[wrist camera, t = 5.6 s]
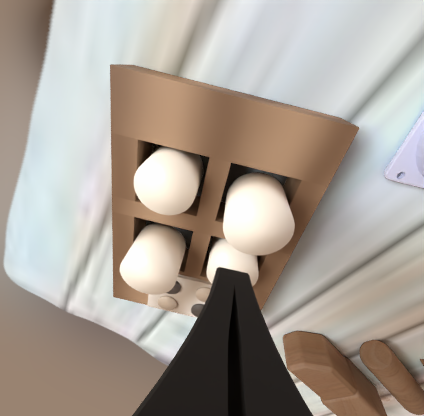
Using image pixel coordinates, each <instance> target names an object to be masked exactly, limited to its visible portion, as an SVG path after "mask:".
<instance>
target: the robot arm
mask: <svg viewBox="0 0 424 416" xmlns="http://www.w3.org/2000/svg"><path fill="white" fill-rule="evenodd" d="M400 172H402V174H401V175H400V176H398V177H397V174H398V173H400ZM384 176H385V177H386V178H387V179H389V180H392V181H396V182H400V183H404V184H408V185H412V186H416V187H420V188H424V111H423V113H422V114H421V116H420V117H419V119H418V120H417V122H416V123H415V125H414V126H413V128H412V129H411V131H410V133H409V134H408V136H407V137H406V139H405V140H404V142H403V143H402V145H401V146H400V148H399V149H398V151H397V152H396V154H395V155H394V157H393V158H392V160H391V161H390V163H389V164H388V166H387V167H386V169H385V171H384ZM132 416H313V415H312V413H311V412H310V410H309V408H308V407H307V405H306V403H305V402H304V400H303V398H302V396H301V394H300V393H299V391H298V389H297V387H296V386H295V384H294V382H293V380H292V378H291V376H290V374H289V372H288V371H287V369H286V367H285V365H284V363H283V361H282V359H281V357H280V354H279V352H278V350H277V348H276V346H275V344H274V341H273V339H272V337H271V335H270V332H269V330H268V328H267V325H266V323H265V320H264V318H263V315H262V313H261V310H260V307H259V305H258V302H257V299H256V296H255V293H254V290H253V287H252V283H251V280H250V276H249V274H248V273H245V272H240V271H236V270H231V269H227V268H222V267H218V268H217V269H216V272H215V276H214V279H213V283H212V286H211V290H210V293H209V296H208V298H207V300H206V302H205V304H204V306H203V309H202V311H201V313H200V314H199V316H198V318H197V320H196V322H195V324H194V326H193V327H192V329H191V331H190V333H189V334H188V336H187V338H186V339H185V341H184V343H183V344H182V346H181V347H180V349H179V351H178V352H177V354H176V355H175V357H174V358H173V360H172V361H171V363H170V364H169V366H168V367H167V369H166V370H165V372H164V373H163V375H162V376H161V378H160V379H159V380H158V382H157V383H156V385H155V386H154V387H153V389H152V390H151V391H150V393H149V394H148V395H147V397H146V398H145V399H144V401H143V402H142V403H141V405H140V406H139V407H138V409H137V410H136V411H135V413H134V414H133V415H132Z"/></svg>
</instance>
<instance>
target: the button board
mask: <svg viewBox="0 0 424 416" xmlns="http://www.w3.org/2000/svg"><path fill="white" fill-rule="evenodd" d="M110 85H111V157H112V229H113V297H116V298H120V299H125V300H129V301H133V302H137V303H142V304H146V305H147V306H150V307H154V308H159V309H163V310H167V311H171V312H176V313H180V314H184V315H188V316H192V317H197V318H198V316H199V314H200V313H201V311H202V309H203V306H204V304H205V302H206V300H207V298H208V296H209V293H210V290H211V286H212V284H211V282H210V281H209V280H208V278H207V265H208V260H209V254H208V253H207V249H208V245H209V242H210V238H211V236H215V237H219V238H223V239H226V238H225V236H224V232H223V221H224V213H225V204H226V203H225V202H221V198H222V194H223V191H224V187H225V184H226V180H227V176H228V173H229V169H230V165H231V163H235V164H239V165H243V166H247V167H251V168H255V169H259V170H263V171H267V172H271V173H275V174H279V175H283V176H287V179H286V181H285V184H284V186H283V189H284V192H285V195H286V198H287V201H288V204H289V207H290V210H291V213H292V216H293V219H294V223H295V229H294V234H293V236H292V238H291V240H290V241H289V242H288V243H287V244H286V245H285V246H284V247H283V248H282V249H280V250H278V251H276V252H274V253H271V254H267V255H257V262H258V280H257V282H256V283H255V285H254V286H253V290H254V293H255V296H256V299H257V302H258V305H259V307H260V310H262V308H263V306H264V304H265V302H266V300H267V298H268V297H269V295H270V293H271V291H272V289H273V287H274V285H275V284H276V282H277V280H278V278H279V276H280V274H281V272H282V271H283V269H284V267H285V265H286V263H287V261H288V260H289V258H290V256H291V254H292V252H293V250H294V248H295V247H296V245H297V243H298V241H299V239H300V237H301V235H302V234H303V232H304V230H305V228H306V226H307V224H308V222H309V221H310V219H311V217H312V215H313V213H314V211H315V209H316V208H317V206H318V204H319V202H320V200H321V198H322V196H323V195H324V193H325V191H326V189H327V187H328V185H329V184H330V182H331V180H332V178H333V176H334V174H335V172H336V171H337V169H338V167H339V165H340V163H341V161H342V159H343V158H344V156H345V154H346V152H347V150H348V148H349V146H350V145H351V143H352V141H353V139H354V137H355V135H356V133H357V132H358V130H359V127H357V126H355V125H353V124H351V123H349V122H347V121H345V120H343V119H341V118H339V117H335V116H331V115H327V114H323V113H319V112H315V111H311V110H308V109H304V108H300V107H296V106H292V105H288V104H284V103H280V102H276V101H272V100H268V99H264V98H260V97H256V96H253V95H249V94H245V93H241V92H237V91H233V90H229V89H225V88H221V87H217V86H213V85H209V84H205V83H201V82H198V81H194V80H190V79H186V78H182V77H178V76H174V75H170V74H166V73H162V72H158V71H154V70H150V69H146V68H143V67H139V66H135V65H110ZM152 143H154V144H159V145H163V146H167V147H171V148H175V149H179V150H183V151H187V152H191V153H195V154H199V155H203V156H207V157H210V158H209V162H208V167H207V171H206V176H205V180H204V185H203V190H202V194H201V196H197V195H196V196H195V199H194V201H193V203H192V205H191V206H190V207H189V208H188V209H187V210H186V211H184V212H182V213H180V214H177V215H163V214H159V213H156V212H154V211H152V210H150V209H149V208H147V207H146V206H145V205H144V204H143V203H142V202H141V201H140V199H139V198H138V196H137V194H136V192H135V189H134V176H135V173H136V171H137V169H138V168H139V167H140V166H141V165H142V164H143V163H144V162H145V161H146V160H147V159H148V158H149V157H150V156H151V152H152ZM146 220H149V221H153V222H157V223H161V224H166V225H170V226H174V227H178V228H182V229H186V230H190V231H193V235H192V240H191V244H190V249H187V248H186V250H185V254H184V257H183V260H182V263H181V267H180V270H179V273H178V276H177V280H176V283H175V285H174V287H173V288H172V289H171V290H170V291H169V292H167V293H164V294H159V295H151V294H146V293H142V292H139V291H137V290H135V289H133V288H132V287H131V286H129V285H128V284H127V283H126V282H125V281H124V279H123V278H122V276H121V273H120V265H121V262H122V261H123V259H124V258H125V256H126V254H127V253H128V251H129V249H130V248H131V246H132V245H133V243H134V241H135V240H136V238H137V236H138V235H139V233H140V232H141V230H142V229H143V228H144V227H146Z"/></svg>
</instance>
